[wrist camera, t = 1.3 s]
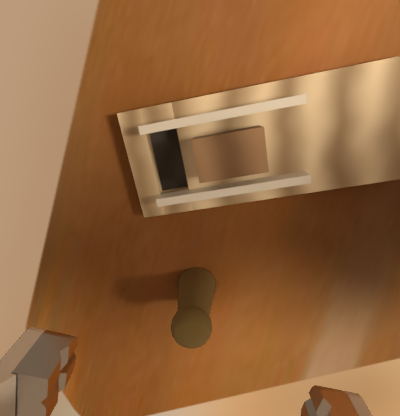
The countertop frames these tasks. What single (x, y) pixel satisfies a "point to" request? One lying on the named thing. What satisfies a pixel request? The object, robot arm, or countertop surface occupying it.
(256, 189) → the channel walls
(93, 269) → the countertop surface
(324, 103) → the board
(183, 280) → the cork
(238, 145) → the walnut block
